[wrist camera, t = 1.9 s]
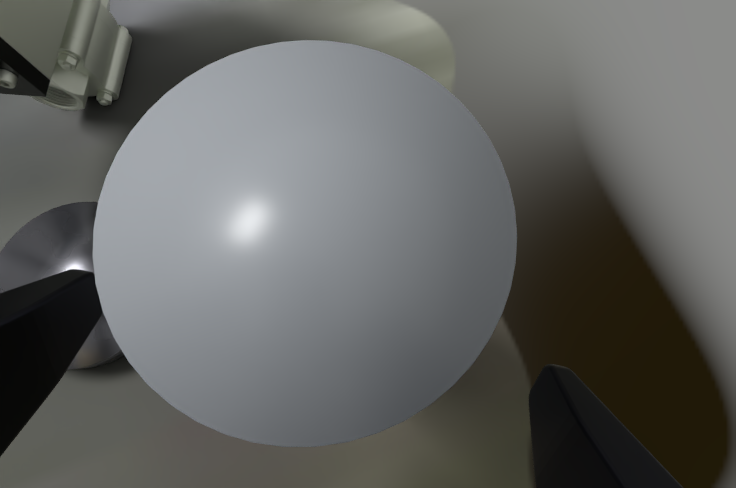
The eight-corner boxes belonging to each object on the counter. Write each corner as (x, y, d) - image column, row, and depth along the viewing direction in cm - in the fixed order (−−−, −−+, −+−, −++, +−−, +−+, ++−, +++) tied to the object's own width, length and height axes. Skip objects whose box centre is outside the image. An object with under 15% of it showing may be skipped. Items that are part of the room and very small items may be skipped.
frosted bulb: (419, 365, 17) (619, 427, 4) (287, 392, 16) (57, 554, 4) (392, 238, 18) (482, -13, 5) (268, 260, 18) (50, 45, 5)
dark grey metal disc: (179, 350, 17) (168, 350, 16) (7, 383, 16) (-16, 386, 15) (166, 197, 18) (155, 189, 17) (8, 223, 18) (-12, 216, 17)
